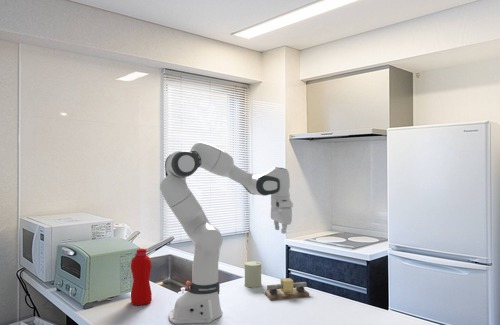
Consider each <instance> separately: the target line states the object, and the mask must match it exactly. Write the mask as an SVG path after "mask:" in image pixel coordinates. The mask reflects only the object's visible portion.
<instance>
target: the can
mask: <svg viewBox="0 0 500 325" xmlns="http://www.w3.org/2000/svg"><path fill="white" fill-rule="evenodd" d="M243 264H244V286H245V287H247V288H250V287H251V289H253V288H254V289H255V288H259V287H262V286H263V284H262V262H260V261H255V260H252V261H246V262H244V263H243Z"/></svg>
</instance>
